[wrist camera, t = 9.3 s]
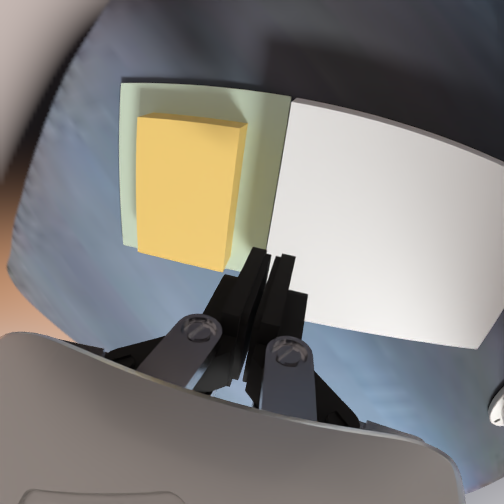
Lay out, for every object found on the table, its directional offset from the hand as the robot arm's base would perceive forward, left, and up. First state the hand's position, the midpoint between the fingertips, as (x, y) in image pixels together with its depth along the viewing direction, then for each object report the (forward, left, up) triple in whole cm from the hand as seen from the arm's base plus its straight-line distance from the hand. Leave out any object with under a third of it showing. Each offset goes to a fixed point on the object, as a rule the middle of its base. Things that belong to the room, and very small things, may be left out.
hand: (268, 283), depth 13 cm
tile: (+6, 0, -6) cm, 9 cm away
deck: (-7, 0, -9) cm, 11 cm away
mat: (+6, 0, -9) cm, 11 cm away
